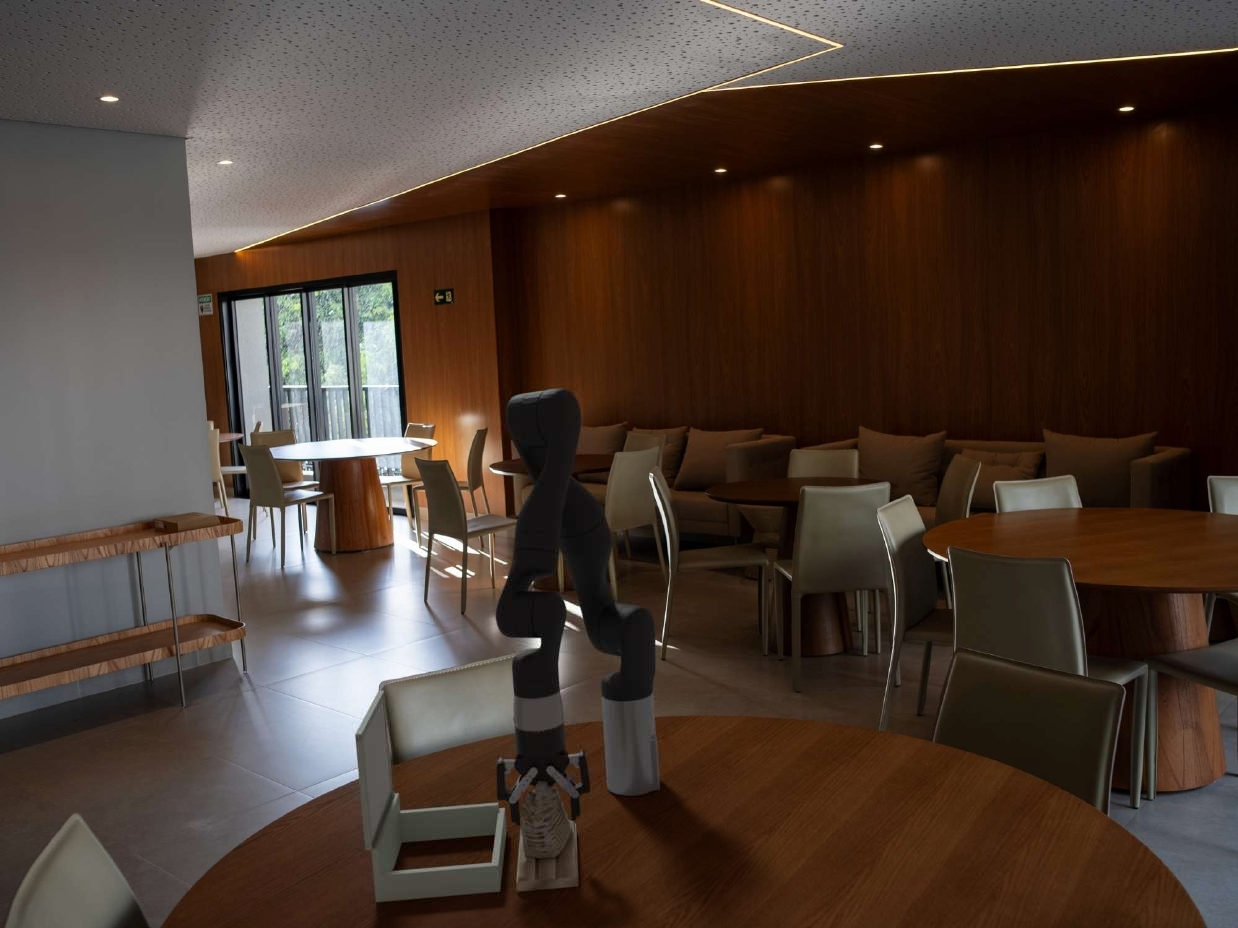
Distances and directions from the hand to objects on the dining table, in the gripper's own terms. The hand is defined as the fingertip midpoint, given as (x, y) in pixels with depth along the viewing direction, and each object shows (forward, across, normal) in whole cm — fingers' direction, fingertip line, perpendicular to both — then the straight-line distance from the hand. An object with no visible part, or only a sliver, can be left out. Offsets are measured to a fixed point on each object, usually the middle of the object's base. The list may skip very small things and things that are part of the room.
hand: (546, 821), depth 154 cm
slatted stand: (+6, 0, 0) cm, 6 cm away
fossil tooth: (+4, 0, 0) cm, 4 cm away
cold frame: (+6, +16, -2) cm, 17 cm away
